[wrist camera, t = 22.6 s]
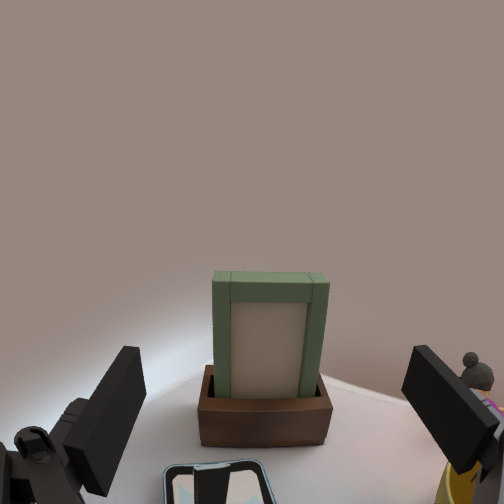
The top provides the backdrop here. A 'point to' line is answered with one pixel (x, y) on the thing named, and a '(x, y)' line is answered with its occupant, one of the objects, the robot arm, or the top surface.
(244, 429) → the holder
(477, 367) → the toy
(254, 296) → the frame
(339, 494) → the top surface
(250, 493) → the smartphone
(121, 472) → the top surface
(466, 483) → the flower pot
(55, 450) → the robot arm
